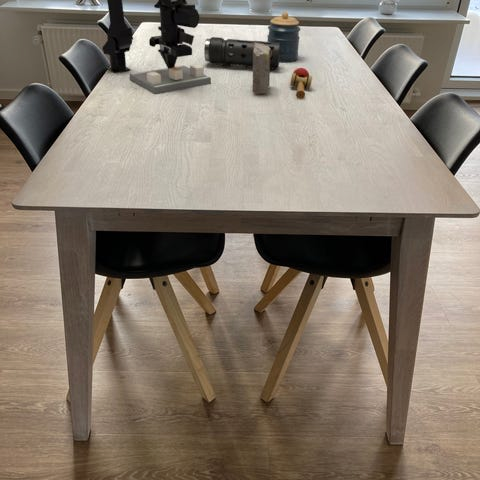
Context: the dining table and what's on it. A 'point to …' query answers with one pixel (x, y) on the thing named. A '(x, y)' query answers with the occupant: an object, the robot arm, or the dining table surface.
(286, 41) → the canister
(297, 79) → the kendama
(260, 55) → the geological specimen
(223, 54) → the muzzle brake
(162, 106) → the dining table surface
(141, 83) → the switch panel
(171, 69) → the switch
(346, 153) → the dining table surface
